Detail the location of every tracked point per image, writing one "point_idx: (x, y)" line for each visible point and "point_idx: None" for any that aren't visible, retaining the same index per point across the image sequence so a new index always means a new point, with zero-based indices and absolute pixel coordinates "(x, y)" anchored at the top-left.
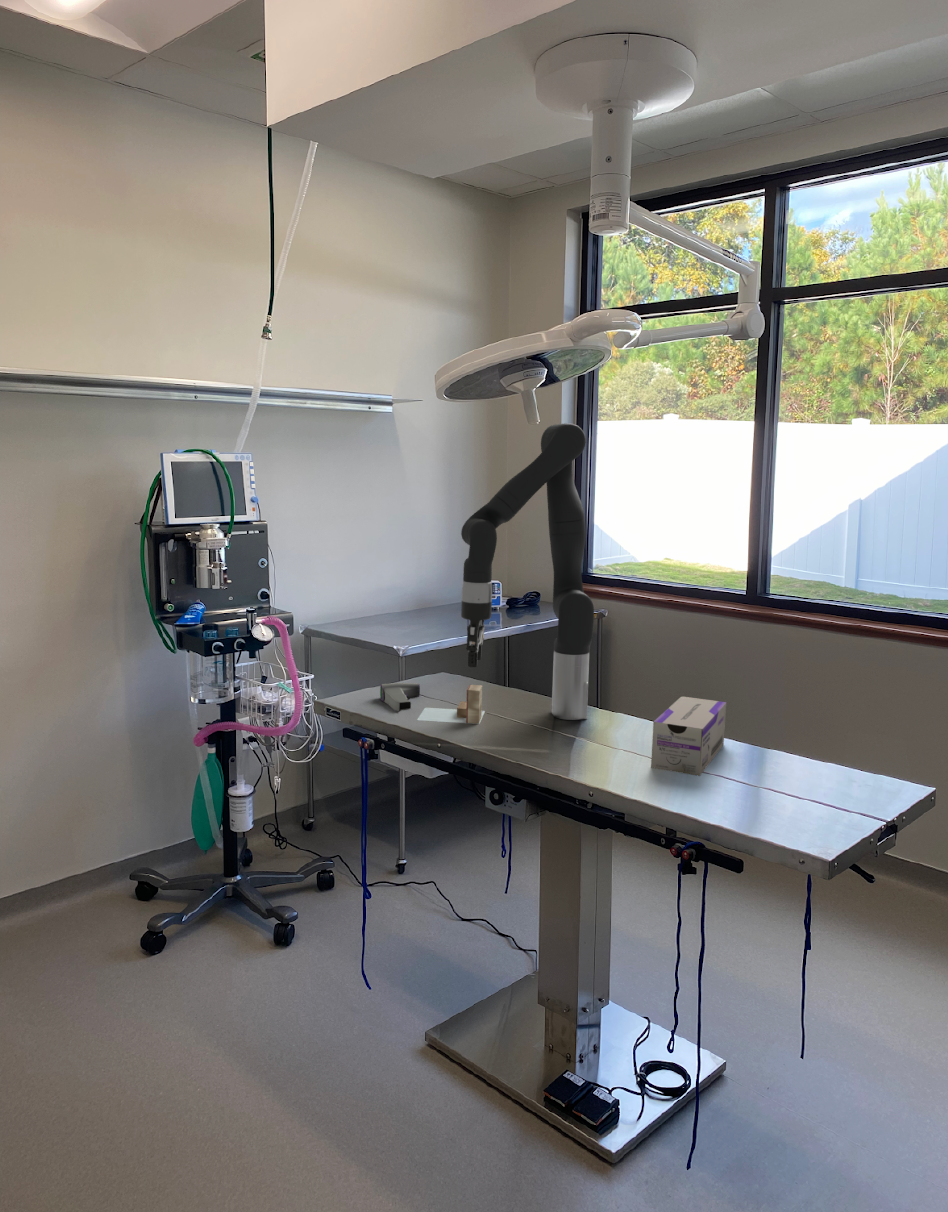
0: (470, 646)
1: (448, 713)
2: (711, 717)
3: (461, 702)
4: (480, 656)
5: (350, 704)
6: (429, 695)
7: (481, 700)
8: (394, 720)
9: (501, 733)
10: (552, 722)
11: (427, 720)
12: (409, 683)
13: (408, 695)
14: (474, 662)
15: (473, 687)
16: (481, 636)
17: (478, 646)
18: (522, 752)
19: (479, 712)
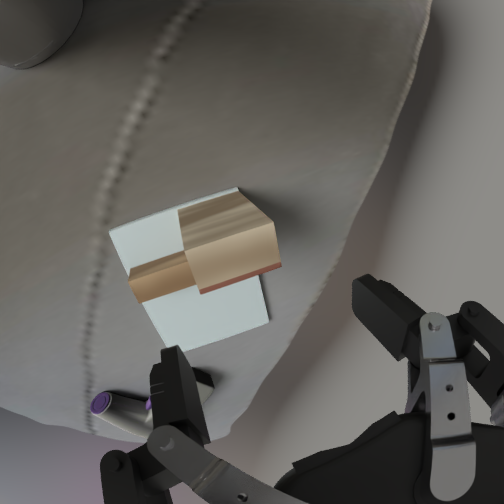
0: (473, 344)
1: (185, 298)
2: None
3: (149, 296)
4: (179, 359)
5: (213, 426)
6: (78, 383)
7: (190, 225)
8: (268, 352)
9: (275, 110)
10: (113, 25)
11: (262, 305)
12: (116, 423)
13: (135, 402)
14: (394, 288)
15: (236, 263)
16: (433, 420)
17: (194, 423)
18: (377, 50)
19: (234, 201)
